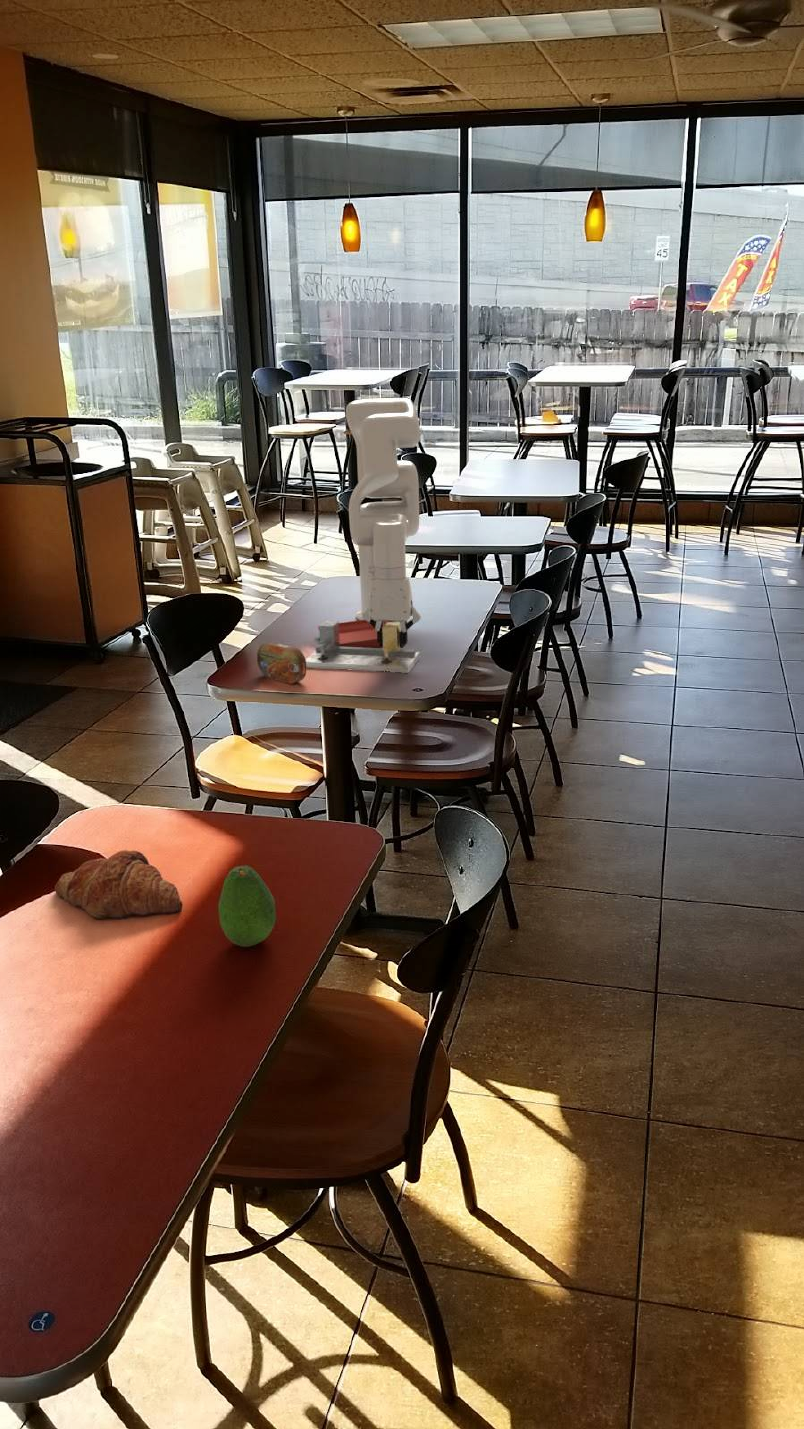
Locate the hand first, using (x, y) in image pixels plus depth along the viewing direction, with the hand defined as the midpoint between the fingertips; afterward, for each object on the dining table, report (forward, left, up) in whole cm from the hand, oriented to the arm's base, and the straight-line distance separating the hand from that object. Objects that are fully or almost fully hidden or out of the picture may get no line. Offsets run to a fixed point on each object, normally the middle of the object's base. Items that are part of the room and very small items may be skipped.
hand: (392, 645), depth 278 cm
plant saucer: (-15, -13, -4) cm, 20 cm away
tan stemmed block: (+2, 0, -2) cm, 3 cm away
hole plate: (+3, -7, -4) cm, 9 cm away
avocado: (+129, +13, -4) cm, 130 cm away
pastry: (+122, -11, -4) cm, 122 cm away
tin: (+18, -22, -4) cm, 29 cm away
